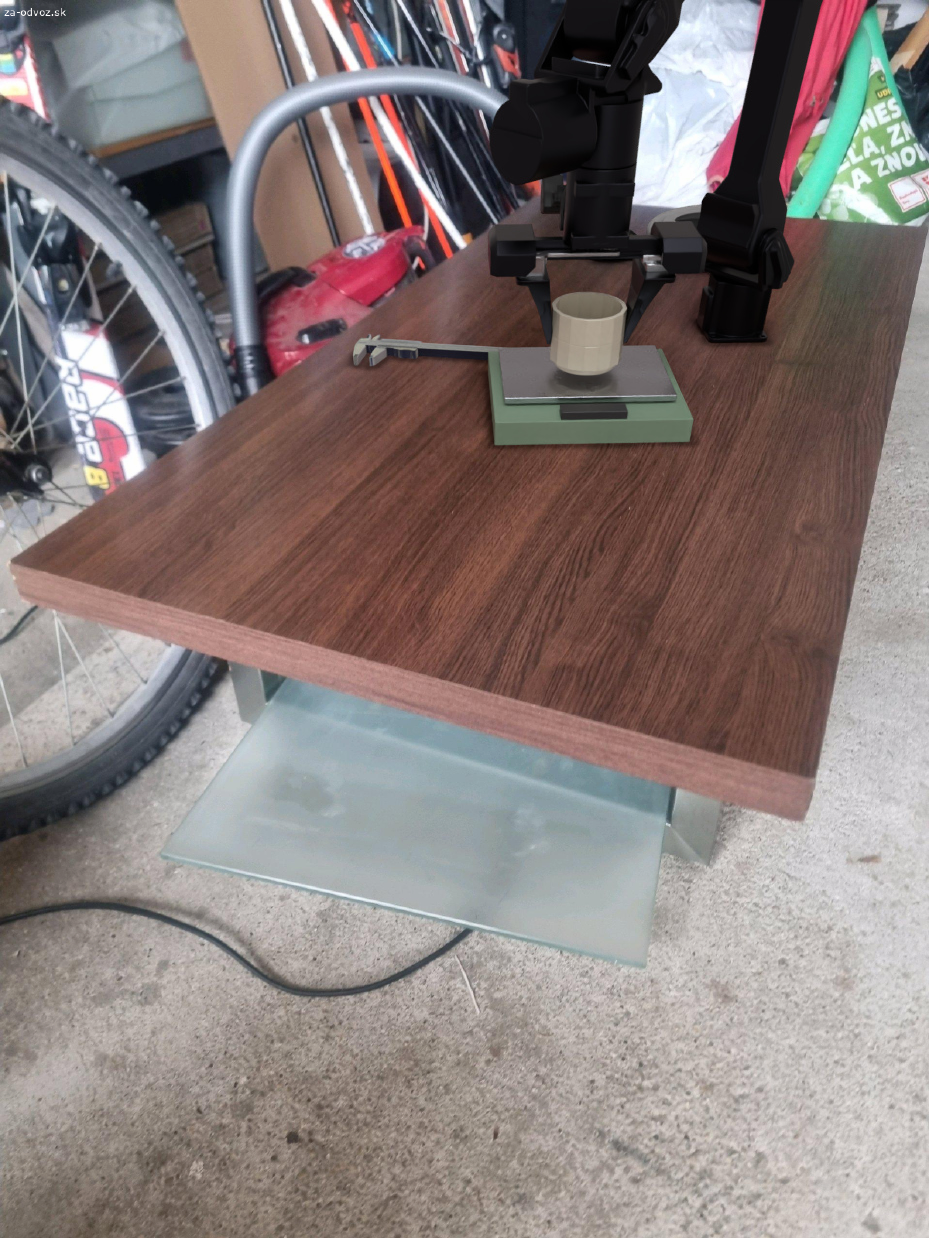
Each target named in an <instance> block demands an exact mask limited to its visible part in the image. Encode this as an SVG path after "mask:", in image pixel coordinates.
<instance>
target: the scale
mask: <svg viewBox="0 0 929 1238" xmlns="http://www.w3.org/2000/svg"><path fill="white" fill-rule="evenodd" d="M657 351H658V353H659V355H660V357H661V360H662V362H663V364H664V367H665V369H666V371H667V373H668V376H669V378H670V380H671V383H672V385H673V387H674V389H675V392H676V394H677V400H676V401H640V402H582V403H523V404H504V397H503V388H502V379H501V371H500V362H499V353H498V352H488V360H487V376H488V387H489V388H488V390H489V398H490V399H489V400H490V410H491V422H492V431H493V442H494V443H493V444H494V446H518V445H519V446H523V445H524V446H525V445H526V446H527V445H531V446H532V445H581V444H584V445H586V444H587V445H588V444H636V443H637V444H639V443H641V444H642V443H643V444H644V443H645V444H646V443H689V442H690V441H691V435H692V430H693V424H694V417H693V415H692V412H691V411H690V408H689V406H688V404H687V401H686V399H685V397H684V394H683V393H682V391H681V389H680V386H679V384H678V381H677V380H676V377H675V375H674V372H673V370H672V368H671V366H670V364H669V362H668V360H667V359H668V358H667V357H666V355H665V353H664V350H663V349H662V348H657Z"/></svg>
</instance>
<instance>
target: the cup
mask: <svg viewBox="0 0 929 1238" xmlns="http://www.w3.org/2000/svg"><path fill="white" fill-rule="evenodd" d="M551 311H552V331H553V332H552V341H551V344H548V345H549V346H548V347H549V356H550V359H551V360H552V361H553V362H554V363H555V365H556V366H557V367H558V368H559V369H561V370H562V371H565V372H567V373H571V374H575V375H598V374H603V373H606V372H608V371H610V370H611V369H612V368H613V367H614V366H615V365H617V364H618V363H619V361H620V360H621V356H622V348H623V346H624V343H623V339H624V330H625V322H626V313H627V307H626V302H625V301H623V300H622V299H621V298H619V297H617V296H614V295H611V294H608V293H603V292H596V291H577V292H571V293H565V294H563V295H560V296H559V297H556V298H555V299H554V300H553V302H551Z"/></svg>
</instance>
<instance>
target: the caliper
mask: <svg viewBox="0 0 929 1238" xmlns="http://www.w3.org/2000/svg"><path fill="white" fill-rule="evenodd" d="M499 348H506V347H505V346H504V347H503V346H501V347H500V346H488V345H487V346H486V345H470V344H469V345H466V344H451V343H449V344H448V343H433V342H432V343H431V342H423V341H422V340H410V339H395V338H394V339H392V338H381V334H377V335H376V336H375V335H374V337H372V335H371V333H368V335H367V336H366V337H360V338H359V340H358V341H357V342H356V343H355V344H354V347H353V354H352V359H353V366H356V367H357V366H359V365H360V364H361V362H362V361H363V360H364V358H365V357H366V355H368V354H370V356H369V360H368V361H369V367H373V366H377V365H378V364H379V363H380V362H381V361H383V360H385V358H388V357H394V358H400V359H412V360H417V359H418V358H419V357H428V358H443V359H444V358H445V359H460V360H463V359H464V360H478V361H479V360H481V361H488V352H498V350H499Z"/></svg>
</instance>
